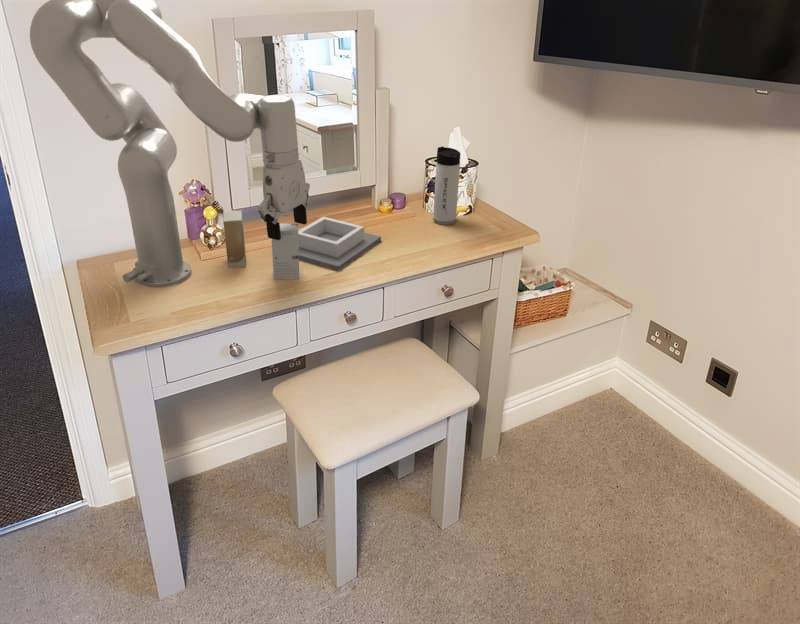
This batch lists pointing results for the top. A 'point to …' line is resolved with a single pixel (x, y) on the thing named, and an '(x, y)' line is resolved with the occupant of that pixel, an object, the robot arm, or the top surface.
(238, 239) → the skincare box
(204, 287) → the top surface
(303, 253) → the duct collar
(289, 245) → the skincare box
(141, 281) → the robot arm
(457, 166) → the travel mug
